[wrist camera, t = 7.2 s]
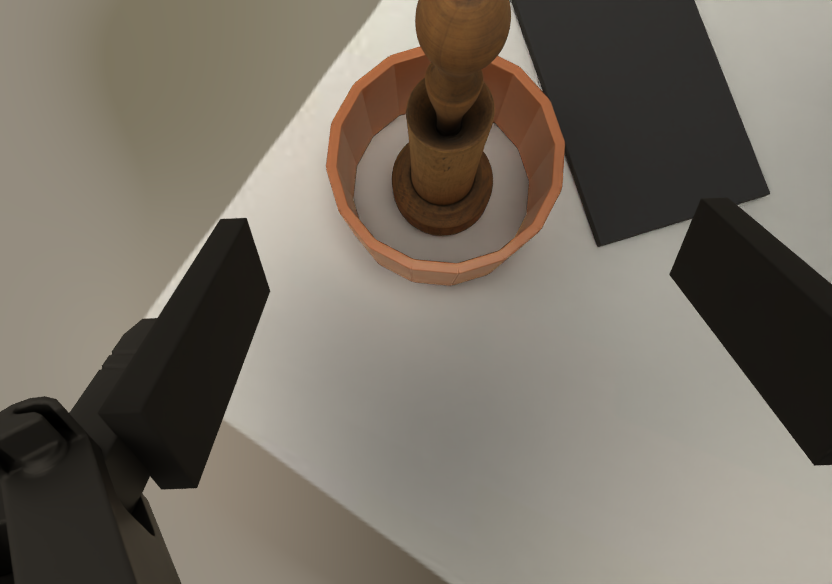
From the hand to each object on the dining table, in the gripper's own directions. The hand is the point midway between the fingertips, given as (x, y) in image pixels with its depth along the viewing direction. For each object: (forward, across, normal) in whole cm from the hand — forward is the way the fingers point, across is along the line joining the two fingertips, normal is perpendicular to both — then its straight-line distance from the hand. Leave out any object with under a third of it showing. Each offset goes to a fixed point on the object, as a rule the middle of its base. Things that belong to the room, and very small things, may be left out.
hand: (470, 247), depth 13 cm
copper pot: (+17, 0, -7) cm, 18 cm away
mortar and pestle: (+17, 0, -7) cm, 18 cm away
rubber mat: (+22, +14, -2) cm, 26 cm away
